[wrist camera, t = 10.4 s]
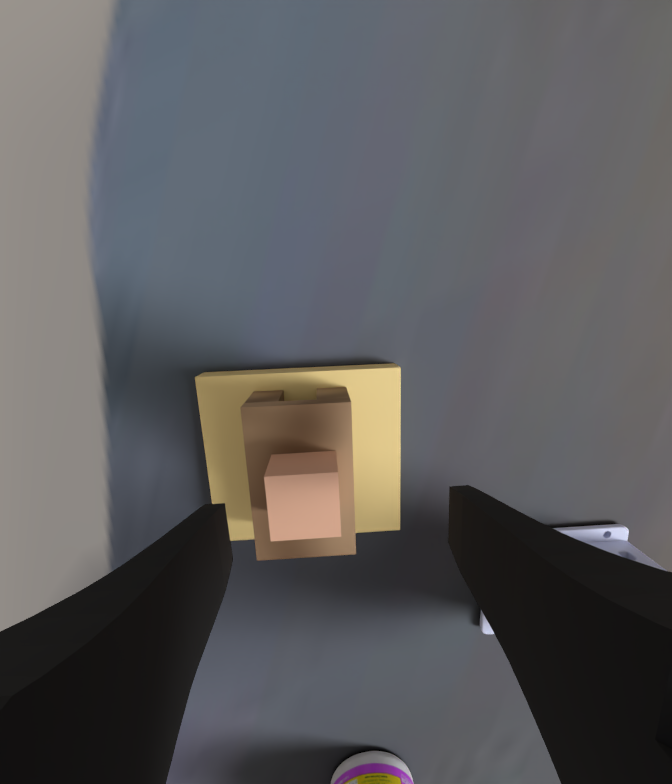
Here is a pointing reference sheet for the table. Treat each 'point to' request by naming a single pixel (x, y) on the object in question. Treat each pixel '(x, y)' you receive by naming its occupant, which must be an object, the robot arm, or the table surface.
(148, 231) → the table surface
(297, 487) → the salmon pink square block
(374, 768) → the supplement bottle
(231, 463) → the plate
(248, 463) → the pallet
